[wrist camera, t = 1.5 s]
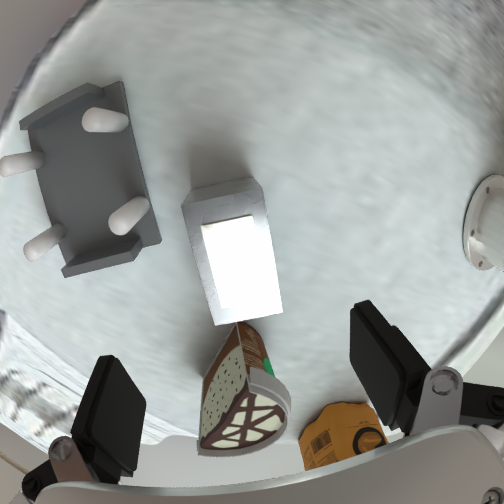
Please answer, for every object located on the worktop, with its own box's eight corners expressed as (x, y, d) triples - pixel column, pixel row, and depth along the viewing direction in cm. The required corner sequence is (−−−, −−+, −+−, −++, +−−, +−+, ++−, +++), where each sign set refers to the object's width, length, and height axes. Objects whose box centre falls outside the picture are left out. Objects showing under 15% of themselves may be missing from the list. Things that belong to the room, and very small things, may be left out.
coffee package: (378, 398, 36) (434, 512, 16) (338, 441, 40) (372, 541, 20) (326, 397, 34) (377, 538, 13) (288, 442, 38) (315, 558, 17)
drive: (252, 176, 22) (262, 188, 17) (270, 275, 26) (283, 313, 20) (191, 189, 22) (180, 206, 16) (216, 286, 26) (215, 327, 20)
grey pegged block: (124, 82, 18) (95, 67, 13) (163, 239, 23) (146, 269, 18) (31, 127, 18) (-8, 129, 12) (70, 264, 23) (41, 293, 18)
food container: (245, 397, 32) (254, 465, 23) (198, 385, 30) (196, 457, 21) (297, 325, 28) (325, 400, 19) (242, 307, 27) (253, 387, 17)
